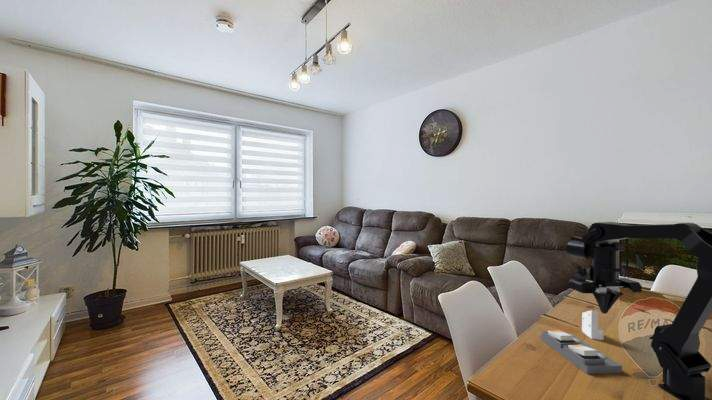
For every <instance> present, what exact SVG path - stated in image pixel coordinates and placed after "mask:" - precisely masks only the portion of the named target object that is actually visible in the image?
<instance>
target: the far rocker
mask: <svg viewBox="0 0 712 400" xmlns="http://www.w3.org/2000/svg"><path fill="white" fill-rule="evenodd" d="M547 331H548V334H549V335H550V336H552V337H554V338H556V339H559V340H561V341H562V340H573V336H574V335H573V334H572V335H570V334H571V333H570V334H567V333H568V332H564V331H561V330H559V329H557V330H547Z"/></svg>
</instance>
